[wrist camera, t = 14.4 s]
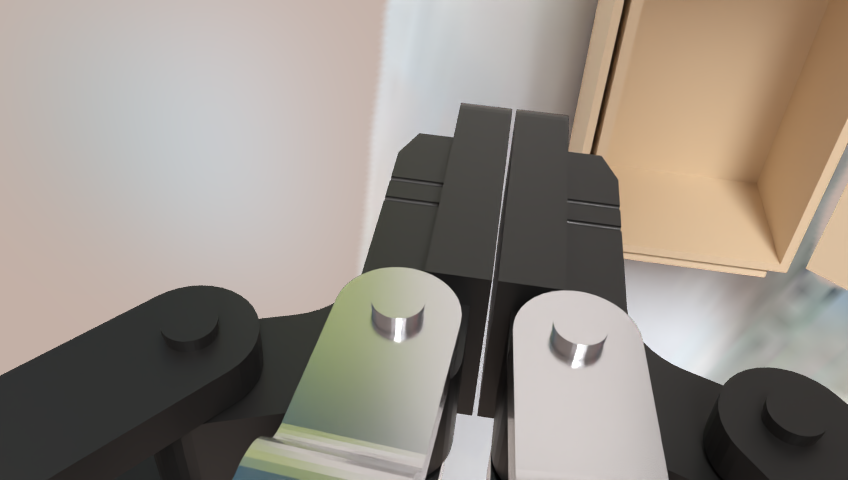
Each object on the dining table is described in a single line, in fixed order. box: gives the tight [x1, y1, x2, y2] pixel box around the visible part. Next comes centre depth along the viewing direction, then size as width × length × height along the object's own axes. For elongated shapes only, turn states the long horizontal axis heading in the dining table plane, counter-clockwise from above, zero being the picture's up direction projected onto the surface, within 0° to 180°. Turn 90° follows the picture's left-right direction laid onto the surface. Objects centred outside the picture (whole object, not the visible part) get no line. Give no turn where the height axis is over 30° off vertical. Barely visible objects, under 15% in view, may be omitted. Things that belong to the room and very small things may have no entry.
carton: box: [568, 0, 848, 278], centre depth 40 cm, size 23×12×8 cm, turn 177°
